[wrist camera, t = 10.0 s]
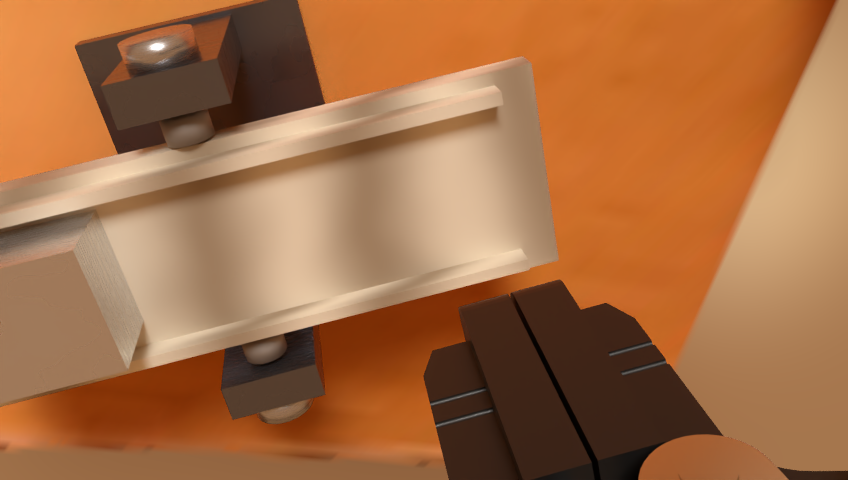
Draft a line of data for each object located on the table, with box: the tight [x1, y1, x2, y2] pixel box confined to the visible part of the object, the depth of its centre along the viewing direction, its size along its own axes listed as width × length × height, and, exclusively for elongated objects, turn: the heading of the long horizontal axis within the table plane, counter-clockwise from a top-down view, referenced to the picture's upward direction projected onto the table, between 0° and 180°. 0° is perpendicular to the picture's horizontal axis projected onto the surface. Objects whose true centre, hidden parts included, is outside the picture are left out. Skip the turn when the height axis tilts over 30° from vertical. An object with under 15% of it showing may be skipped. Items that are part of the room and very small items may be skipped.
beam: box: [0, 56, 559, 407], centre depth 30 cm, size 26×11×3 cm, turn 102°
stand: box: [75, 0, 325, 424], centre depth 34 cm, size 10×17×10 cm, turn 12°
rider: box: [0, 210, 144, 404], centre depth 28 cm, size 7×5×4 cm
